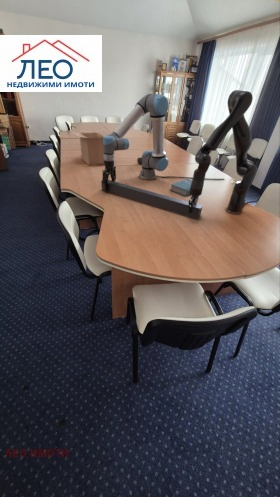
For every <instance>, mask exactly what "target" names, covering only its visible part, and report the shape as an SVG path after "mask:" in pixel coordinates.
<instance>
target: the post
mask: <svg viewBox="0 0 280 497" xmlns="http://www.w3.org/2000/svg"><path fill="white" fill-rule="evenodd" d="M111 180H112V179H108V183H107V184H108V192H107V193H109V194H112V195H116V196H118V197H121V198H126V199H129V200H132V201H135V202H138V203H142V204H145V205H149V206H151V207H155V208H158V209H162V210H164V211H167V212H168V211H169V212H171V213H174V214H178V215H181V216H184V217H188V218H191V219H193V220H199V218H200V217H201V214H202V210H203V205H200V204H198V203H196V204H195V205H194V206H193V209H192V213H188V211H189V208H188V204H189V201H186V200H183V199H179V198H175V197H172V196H168V195H164V194H161V193H158V192H154V191H151V190H147V189H143V188H140V187H135V186H132V185H129V184H125V183H122V182H117V181H111ZM100 183H101V191H102V192H105V186H104V184H103V183H102V180H101V182H100ZM190 206H191V205H190Z"/></svg>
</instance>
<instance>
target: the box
mask: <svg viewBox="0 0 280 497" xmlns="http://www.w3.org/2000/svg"><path fill="white" fill-rule="evenodd" d="M70 133H71V134H72V135H74V136H75V137H77V138H79V144H80V153H81V160H83V162H85V163H86V165H87V166H95V165H97V166H98V165H104V150H103V137H104V136H107V135H108V134H109V133H108V132H105V131H98V132H96V131H95V130H92V129H91V130H77V132H76V131H70Z"/></svg>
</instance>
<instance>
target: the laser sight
mask: <svg viewBox="0 0 280 497" xmlns="http://www.w3.org/2000/svg"><path fill="white" fill-rule="evenodd" d="M142 158H143V154H142V155H141V157H137V159H136V162H137V164H139V165H142Z"/></svg>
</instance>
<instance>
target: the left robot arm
mask: <svg viewBox="0 0 280 497" xmlns="http://www.w3.org/2000/svg"><path fill="white" fill-rule="evenodd" d="M169 108H170V102H169V99H168V98H167V96H165V95H164V94H158V93H157V94H156V93H148V94H145V95H144V96H142V97H141V98H140V99H139V100H138V101H137V102H136V104H135V105H134V108H133V109H132V110H131V111H130V113H129V114H128V115H127V116H125V118H124V119H123V120H122V121H121V122H120V123H119V125H118V126H117V127H116V128H115V129H114V130H113V131H112V132H111V133H110V134H109V133H107V134H108V135H107V136H104V137H103V150H104V164H103V166H104V169H102V177H101V178H102V180H101V181H102V183H103V184H104V186H105V191H104V193H105V192H106V193H109V192H108V184H107V183H108V180H109V177H110V180H111V181H115V182H117V181H116V180H117V171H116V169H117V167H116V166H115V152H117V151H118V152H119V151H125V150H129V148H130V141H129V139H128V138H125V135H126V134H127V133H128V132H129V131H130V130H131V129H132V127H133V126H135V124H137V122H138V121H139V120H140V119H141V118H142V117H145V115H146V114H148V113H149V118H150V119H151V126H152V127H151V128H152V147H153V148H152V150H144V151H143V152H142V155H143V158H142V164H141V169H140V170H139V178H140V179H142V180H146V181H154V180H156V178H161V179H166V178H174V176H161V175H157V174H156V171H157V172H164V171H165V170H167V168H168V167H169V158H167V156H166V155H167V154H166V152H165V142H164V140H165V139H164V138H165V136H164V131H165V129H164V128H165V127H164V126H165V123H164V119H165V118H166V116H167V115H166V114H167V113H168V111H169ZM175 178H177V179H178V178H180V179H191V180H192V179H193V177H187V176H175ZM208 180H209V181H210V180H213V181H225V178H208ZM102 183H101V184H102Z"/></svg>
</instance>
